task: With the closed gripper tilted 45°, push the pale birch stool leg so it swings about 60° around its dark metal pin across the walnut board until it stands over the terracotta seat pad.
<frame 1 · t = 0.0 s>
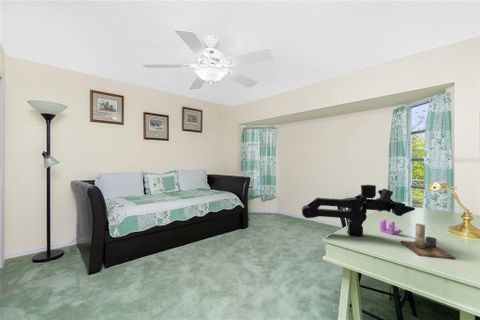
hand: (409, 206, 110), 17 cm above the table, tool horizontal, fingers open, 9 cm apart
bracket: (391, 231, 122), on the table
leg board: (425, 250, 97), on the table
stool leg: (425, 235, 98), point 6 cm above the table, hinge at -60.0°
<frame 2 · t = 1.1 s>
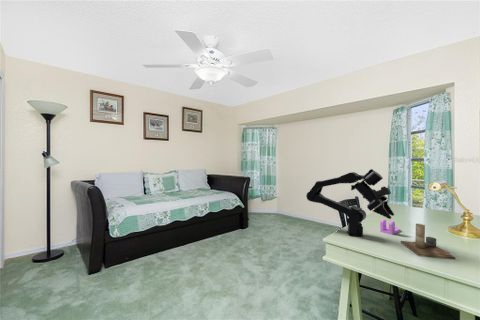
hand: (392, 216, 104), 13 cm above the table, tool tilted 45°, fingers open, 8 cm apart
nothing on the table moved.
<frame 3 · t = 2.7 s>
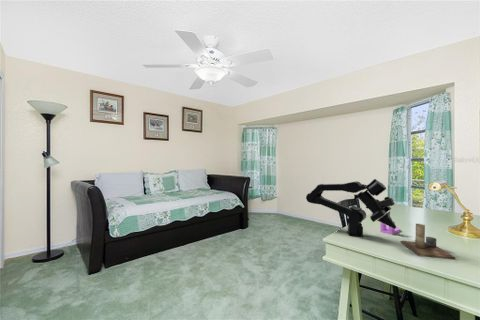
hand: (395, 227, 103), 8 cm above the table, tool tilted 45°, fingers closed
nothing on the table moved.
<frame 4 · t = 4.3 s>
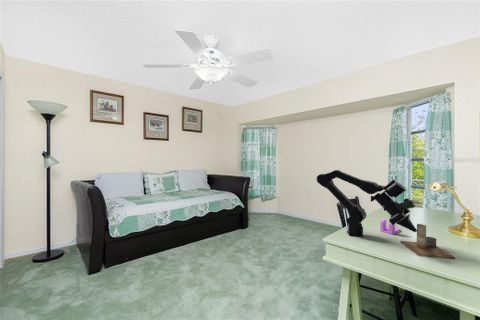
hand: (416, 231, 98), 8 cm above the table, tool tilted 45°, fingers closed, pressing on stool leg
stool leg: (426, 235, 98), point 6 cm above the table, hinge at -55.9°, touching gripper
everything else where it was.
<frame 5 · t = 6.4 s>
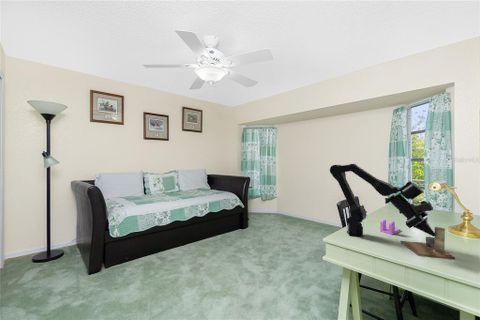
hand: (434, 235, 93), 8 cm above the table, tool tilted 45°, fingers closed, pressing on stool leg
stool leg: (435, 237, 96), point 6 cm above the table, hinge at -5.6°, touching gripper
everything else where it was.
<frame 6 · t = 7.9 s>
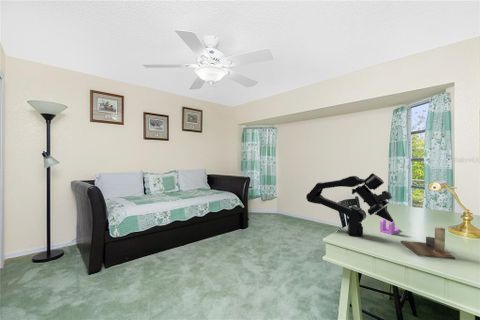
hand: (392, 221, 104), 10 cm above the table, tool tilted 45°, fingers closed
stool leg: (435, 237, 96), point 6 cm above the table, hinge at -5.1°
everything else where it was.
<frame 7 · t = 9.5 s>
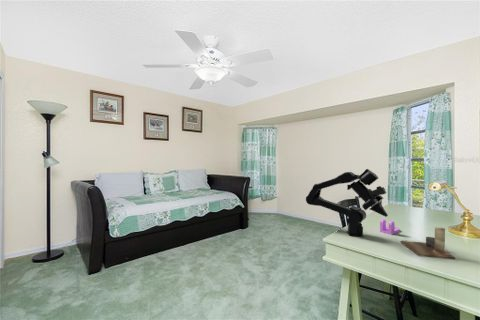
hand: (387, 216, 106), 13 cm above the table, tool tilted 45°, fingers closed
nothing on the table moved.
at the end: stool leg at -5° (first picture: -60°) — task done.
